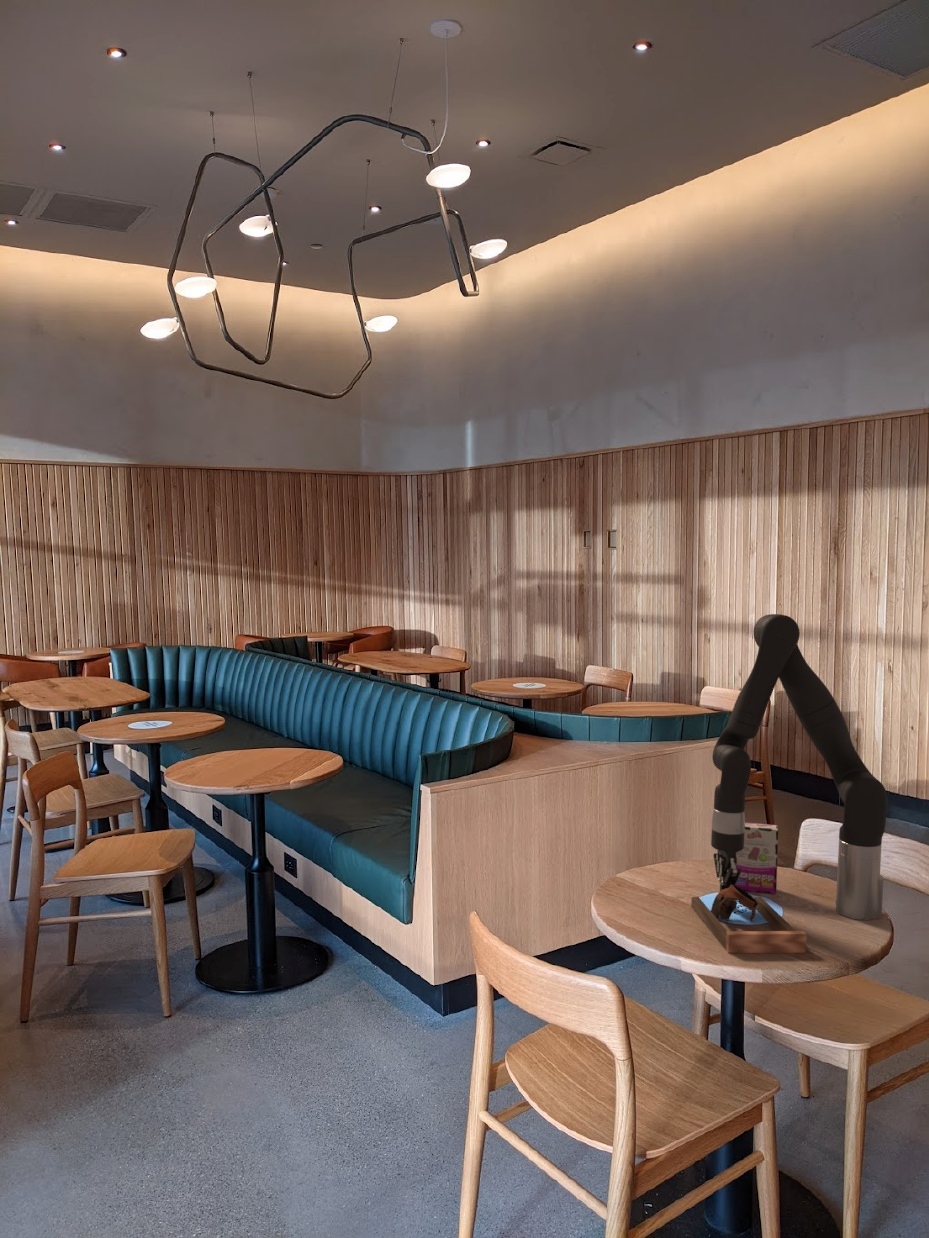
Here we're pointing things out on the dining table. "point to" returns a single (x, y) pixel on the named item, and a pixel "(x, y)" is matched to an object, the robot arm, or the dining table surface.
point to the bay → (754, 932)
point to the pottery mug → (732, 902)
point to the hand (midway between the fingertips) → (724, 899)
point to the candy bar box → (758, 859)
